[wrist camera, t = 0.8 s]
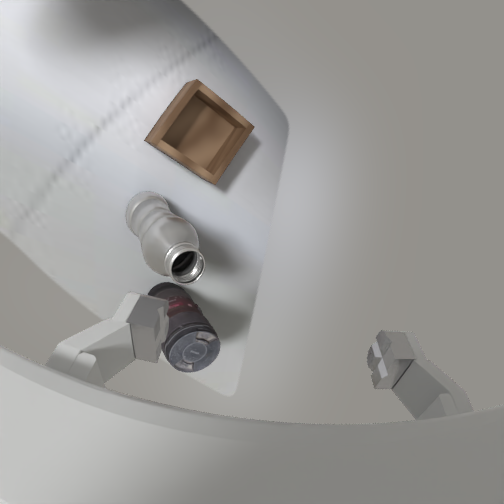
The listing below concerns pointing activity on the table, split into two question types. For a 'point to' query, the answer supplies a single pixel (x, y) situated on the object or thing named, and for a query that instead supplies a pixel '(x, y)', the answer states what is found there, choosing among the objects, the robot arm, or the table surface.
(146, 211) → the plastic bottle
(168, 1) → the table surface
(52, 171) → the table surface
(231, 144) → the open wooden box
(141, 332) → the robot arm
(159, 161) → the table surface
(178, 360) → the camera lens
